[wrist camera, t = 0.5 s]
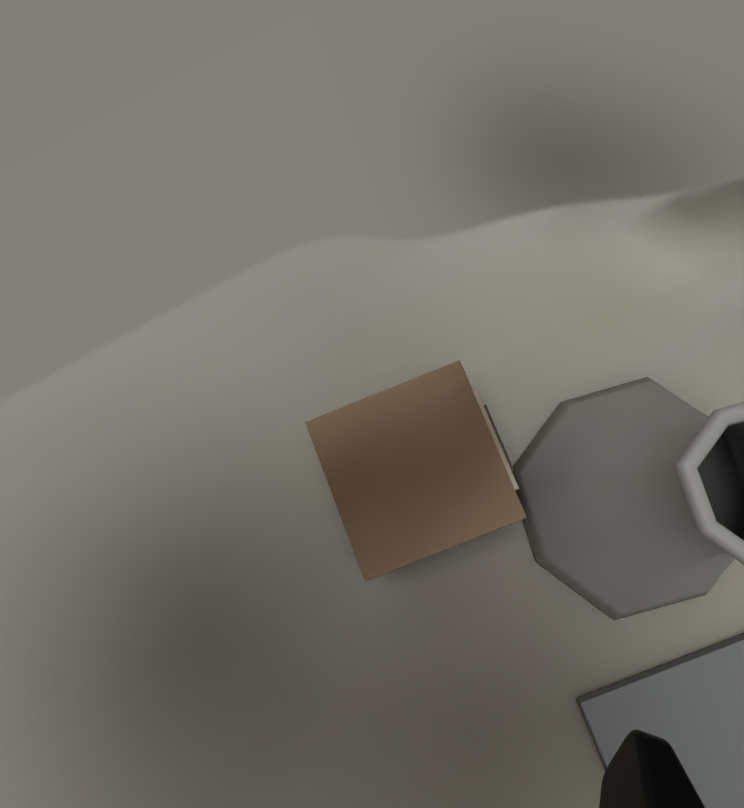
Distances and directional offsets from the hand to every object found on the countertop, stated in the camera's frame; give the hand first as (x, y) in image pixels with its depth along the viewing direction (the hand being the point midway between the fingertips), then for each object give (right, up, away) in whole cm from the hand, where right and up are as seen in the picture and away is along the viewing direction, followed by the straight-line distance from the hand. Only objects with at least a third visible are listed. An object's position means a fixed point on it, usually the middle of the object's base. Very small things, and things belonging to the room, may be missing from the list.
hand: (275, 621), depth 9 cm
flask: (+9, 0, +14) cm, 17 cm away
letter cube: (+3, 0, +14) cm, 14 cm away
